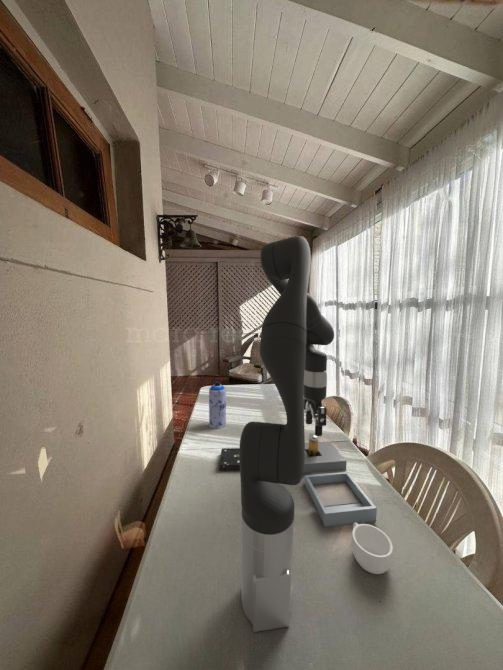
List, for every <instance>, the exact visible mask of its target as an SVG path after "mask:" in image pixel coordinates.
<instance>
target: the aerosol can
mask: <svg viewBox="0 0 503 670" xmlns="http://www.w3.org/2000/svg"><path fill="white" fill-rule="evenodd" d="M208 389H209V390H208V412H209V413H208V415H209V416H208V420H209V423H208V425H209V426H208V427H209V428H211V429H215V430H221V429H223V428H225V427H226V426H227V411H226V410H227V397H226V396H227V395H226V394H227V393H226V392H227V390H226V387H225V386H224V385H222V384H221V382H220V381H219V380H218V381H215V382H214V384H213V385H211V386H210V387H209V388H208Z"/></svg>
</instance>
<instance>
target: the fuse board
mask: <svg viewBox="0 0 503 670" xmlns="http://www.w3.org/2000/svg"><path fill="white" fill-rule="evenodd" d="M308 448H309V442H308V443H307V442H306V443H305V462H304V472H303V474H308V473H309V474H311V473H321V472H335V471H343V470H344V471H345V470H347V462H348V461H347V459H346V458H345V457H344V456H343V455H342V453H341V452H340V451H339V450H338V449H337V448H336V446H335V445H334V444H333V443H332V442H331V441H324V442H323V441H322V442H318V456H313V457H309V456H308Z"/></svg>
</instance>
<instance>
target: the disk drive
mask: <svg viewBox="0 0 503 670" xmlns="http://www.w3.org/2000/svg"><path fill="white" fill-rule="evenodd" d="M239 448H240V447H239ZM239 448H238V447H236V448H234V447H231V448H230V447H229V448H228V447H227V448H226V447H225V448H224V447H223V448H221V451H220V452H221V453H220V458H219V465H218V469H219V470H218V471H219V472H232V471H233V472H234V471H235V472H240V463H239Z"/></svg>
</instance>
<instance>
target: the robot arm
mask: <svg viewBox="0 0 503 670" xmlns="http://www.w3.org/2000/svg"><path fill="white" fill-rule="evenodd" d="M311 260H312V259H311V248H310V244H309V242H308V240H307V239H306V237H304V236H302V235H296V236H290V237H286V238H284V239H279V240H275V241H272V242H270V243H267V244H265V245H263V246H262V248H261V251H260V264H261V268H262V270H263V273H264V275H265V276H266V279H268V281H269V283H271V285H272V286H273V287H274V289H275V290H276V291H277V292H278V293H279V295H280V296H279V297H278V298H277V300H276V301H275V302H274V304H273V305H272V306H271V308H270V309H269V310H268V312H267V313H266V315H265V317H264V319H263V322H262V326H261V335H260V341H259V343H260V344H259V355H260V359H261V362H262V364H263V366H264V368H265V369H266V372H267V373H268V375H269V376H270V378H271V380H272V381H273V384H274V385H275V387H276V389H277V392H278V395H279V396H280V399H281V401H282V404H283V406H284V410H285V414H286V423H285V424H284V423H276V422H275V423H274V422H262V421H249V422H248V423H246V424H245V425H244V427H243V429H242V432H241V434H240V441H239V463H240V471H239V477H240V503H241V505H240V506H241V555H240V556H241V557H240V559H241V562H240V563H241V565H240V566H241V569H240V570H241V571H240V572H241V575H240V576H241V579H240V580H241V581H240V582H241V586H240V587H241V590H240V593H241V594H240V595H241V600H240V601H241V607H242V610H243V613H244V615H245V617H246V618H247V619H248V621H249V622H250V623H251V625H252V630H253V631H252V632H254V633H257V632H263V631H269V630H275V629H282V628H286V627H290V624H291V622H290V621H291V619H290V618H291V611H292V605H293V571H294V568H293V567H294V533H295V531H294V529H295V501H294V497H293V496H292V493H291V492H290V491H289V490H288V489H287V488H286V486H284V485H288V486H298V485H299V484H300V483H301V481H302V479H303V477H304V473H303V472H304V462H305V444H306V441H305V424H306V425H312V424H313V420H314V434H315V435H316V436H319V437H322V436H323V427H324V426H327V407H326V406H323V404H322V402H323V400H325V399H326V398H327V386H328V374H327V373H328V372H327V370H328V369H327V366H328V356H327V354H326V353H325V352H324V351H321V350H317V349H316V348H315V345H317V346H328V345H330V344H331V343H332V342H333V341H334V339H335V331H334V328H333V326H332V324H331V323H330V321H328V319H327V318H326V317H325V316H324V315H323V314H322V312H321V311H320V308H319V305H318V302H317V301H316V300H315V297H313V296H312V295H311V294H310V293H308V291H309V290H308V289H309V280H310V273H311Z"/></svg>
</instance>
